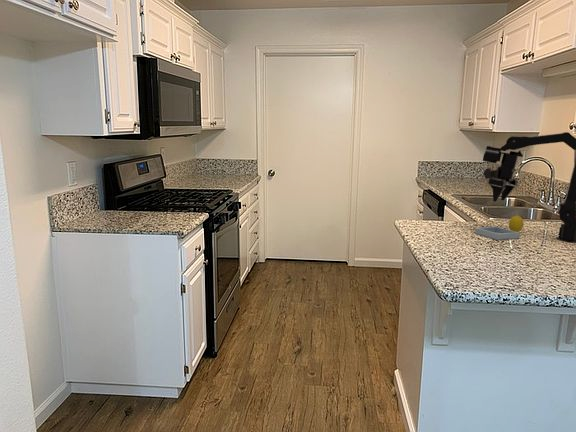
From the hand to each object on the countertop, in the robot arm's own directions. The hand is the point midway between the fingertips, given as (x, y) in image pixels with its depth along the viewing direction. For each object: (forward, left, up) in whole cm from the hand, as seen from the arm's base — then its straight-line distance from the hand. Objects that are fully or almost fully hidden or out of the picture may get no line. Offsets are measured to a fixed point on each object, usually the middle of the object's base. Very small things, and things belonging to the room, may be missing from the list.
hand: (498, 200), depth 195 cm
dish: (-8, +8, -14) cm, 17 cm away
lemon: (-6, -5, -14) cm, 16 cm away
